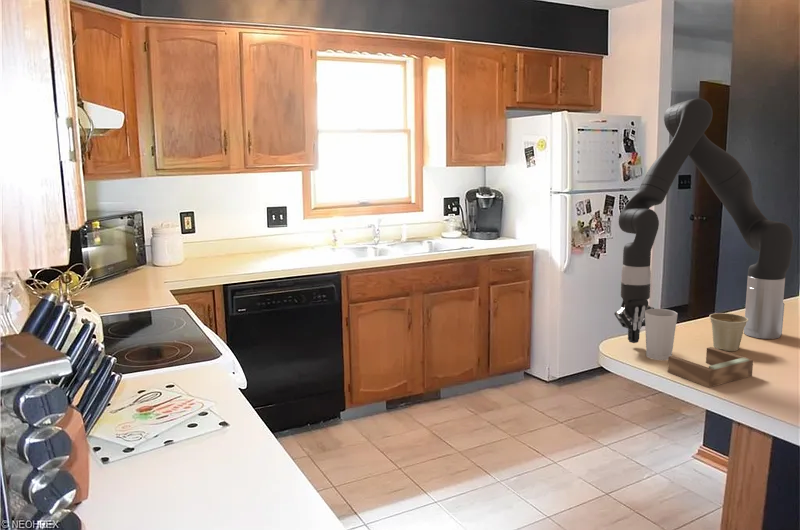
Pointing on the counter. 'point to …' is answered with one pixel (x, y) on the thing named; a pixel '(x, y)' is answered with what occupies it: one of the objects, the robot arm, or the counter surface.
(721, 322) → the flower pot
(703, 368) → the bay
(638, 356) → the counter surface
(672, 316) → the cup
